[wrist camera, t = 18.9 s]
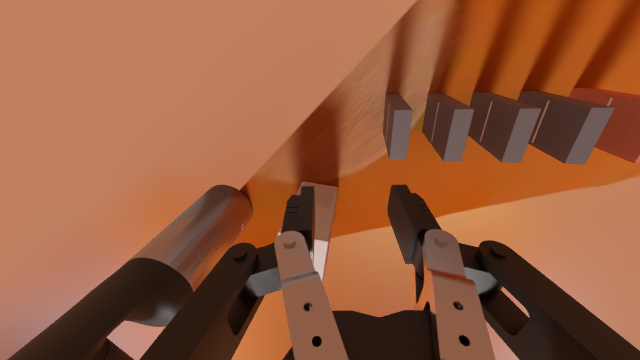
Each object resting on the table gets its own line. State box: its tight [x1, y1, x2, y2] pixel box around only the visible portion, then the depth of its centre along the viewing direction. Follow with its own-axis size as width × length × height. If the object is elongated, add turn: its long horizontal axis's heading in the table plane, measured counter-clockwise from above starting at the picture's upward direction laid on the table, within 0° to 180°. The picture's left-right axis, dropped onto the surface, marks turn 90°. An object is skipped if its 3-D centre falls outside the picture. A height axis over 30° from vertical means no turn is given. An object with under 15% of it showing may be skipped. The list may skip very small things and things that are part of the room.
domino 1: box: [383, 94, 412, 160], centre depth 27 cm, size 2×5×10 cm, turn 3°
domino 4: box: [518, 90, 615, 164], centre depth 25 cm, size 2×5×10 cm, turn 3°
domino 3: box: [468, 92, 541, 163], centre depth 25 cm, size 2×5×10 cm, turn 3°
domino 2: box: [422, 93, 474, 161], centre depth 26 cm, size 2×5×10 cm, turn 3°
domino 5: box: [569, 88, 640, 163], centre depth 24 cm, size 2×5×10 cm, turn 3°
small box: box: [278, 181, 338, 283], centre depth 35 cm, size 8×6×13 cm
